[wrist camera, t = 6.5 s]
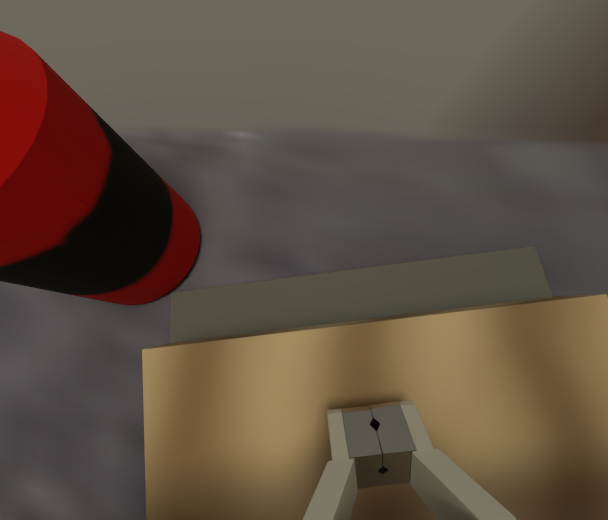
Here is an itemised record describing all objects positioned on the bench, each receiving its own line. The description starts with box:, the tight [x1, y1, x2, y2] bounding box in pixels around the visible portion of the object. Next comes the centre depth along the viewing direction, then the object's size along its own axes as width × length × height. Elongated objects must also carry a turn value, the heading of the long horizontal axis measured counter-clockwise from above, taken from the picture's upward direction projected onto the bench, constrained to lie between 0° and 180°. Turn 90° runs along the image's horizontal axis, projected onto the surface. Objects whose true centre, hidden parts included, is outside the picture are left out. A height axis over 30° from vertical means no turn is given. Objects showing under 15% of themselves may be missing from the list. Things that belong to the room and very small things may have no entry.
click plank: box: [142, 294, 608, 520], centre depth 11 cm, size 18×12×2 cm
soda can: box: [0, 31, 200, 305], centre depth 13 cm, size 8×8×12 cm
